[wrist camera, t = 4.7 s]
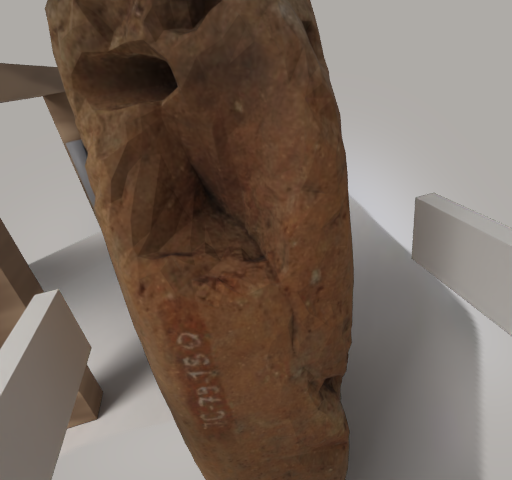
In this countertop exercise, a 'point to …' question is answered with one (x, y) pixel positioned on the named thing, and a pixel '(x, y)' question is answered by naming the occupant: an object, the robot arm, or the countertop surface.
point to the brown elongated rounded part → (223, 217)
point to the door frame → (3, 246)
